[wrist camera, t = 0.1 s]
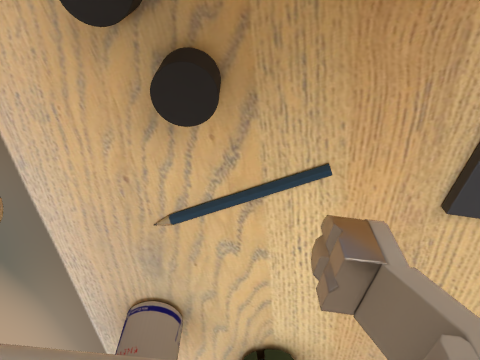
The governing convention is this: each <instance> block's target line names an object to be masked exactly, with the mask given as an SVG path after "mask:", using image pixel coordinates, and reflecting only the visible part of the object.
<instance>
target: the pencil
mask: <svg viewBox="0 0 480 360" xmlns="http://www.w3.org/2000/svg"><path fill="white" fill-rule="evenodd" d="M331 175H332V172H331V169H330V166H329V164H326V165H323V166H320V167H317V168H314V169H311V170H308V171H304V172H301V173H298V174H295V175H292V176H289V177H286V178H283V179H279V180H276V181H273V182H270V183H267V184H264V185H261V186H258V187H254V188H251V189H248V190H245V191H242V192H239V193H236V194H233V195H229V196H226V197H223V198H220V199H217V200H214V201H211V202H208V203H204V204H201V205H198V206H195V207H192V208H189V209H186V210H183V211H180V212H177V213H173V214H171V215H168V216H167V217H165V218H164V219H162V220H161V221H159V222H158V223H156V224H154V225H174V224H177V223H181V222H184V221H187V220H190V219H193V218H197V217H200V216H203V215H206V214H209V213H213V212H216V211H219V210H222V209H225V208H229V207H232V206H235V205H238V204H241V203H245V202H248V201H251V200H254V199H257V198H261V197H264V196H267V195H270V194H273V193H276V192H280V191H283V190H286V189H289V188H292V187H296V186H299V185H302V184H305V183H308V182H312V181H315V180H318V179H321V178H324V177H328V176H331Z"/></svg>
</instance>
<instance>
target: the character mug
mask: <svg viewBox="0 0 480 360" xmlns="http://www.w3.org/2000/svg"><path fill="white" fill-rule="evenodd" d="M264 353H265V359H260V360H294V359H293V358H292V356H291V355H290V354H288V353H286V352H283V351H281V350H273V349H266V350H264ZM243 360H257V352H252V353H251V354H249V355H247V356H246V357H245V358H244V359H243Z"/></svg>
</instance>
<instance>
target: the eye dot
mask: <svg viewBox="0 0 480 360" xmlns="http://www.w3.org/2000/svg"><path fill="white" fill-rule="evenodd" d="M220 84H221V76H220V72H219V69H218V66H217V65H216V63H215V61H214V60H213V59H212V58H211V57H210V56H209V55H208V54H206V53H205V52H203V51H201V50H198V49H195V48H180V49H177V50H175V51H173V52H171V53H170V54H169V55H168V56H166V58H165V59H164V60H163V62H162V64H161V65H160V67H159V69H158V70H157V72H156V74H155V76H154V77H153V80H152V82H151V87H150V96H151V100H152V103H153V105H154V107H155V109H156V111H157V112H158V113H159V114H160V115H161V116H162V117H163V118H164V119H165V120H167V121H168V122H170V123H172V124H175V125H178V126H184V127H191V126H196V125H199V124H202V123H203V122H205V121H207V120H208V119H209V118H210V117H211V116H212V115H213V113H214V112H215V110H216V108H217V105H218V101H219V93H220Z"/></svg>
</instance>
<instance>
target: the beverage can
mask: <svg viewBox="0 0 480 360" xmlns="http://www.w3.org/2000/svg"><path fill="white" fill-rule="evenodd" d="M182 324H183V319H182V316H181V314H180V313H179V312H178V311H177V310H176V309H175V308H174V307H172V306H170V305H168V304H166V303H162V302H156V301H148V302H143V303H139V304H137V305H135V306H133V307H132V308H131V309H130V310H129V311H128V313H127V316H126V320H125V323H124V326H123V330H122V333H121V337H120V340H119V343H118V347H117V350H116V354H115V355H124V356H134V357H145V358H155V359H166V360H177V359H178V352H179V345H180V338H181V331H182Z"/></svg>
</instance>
